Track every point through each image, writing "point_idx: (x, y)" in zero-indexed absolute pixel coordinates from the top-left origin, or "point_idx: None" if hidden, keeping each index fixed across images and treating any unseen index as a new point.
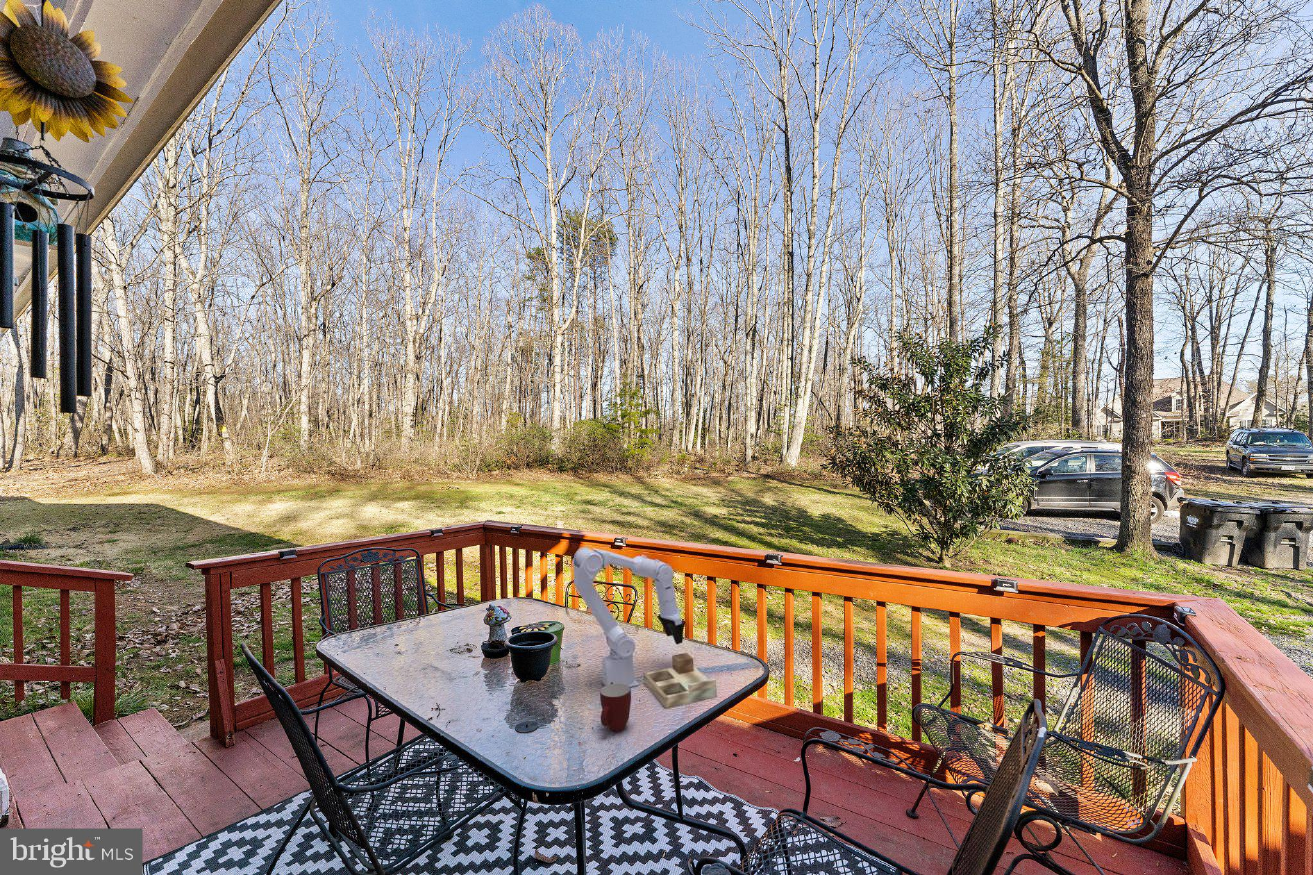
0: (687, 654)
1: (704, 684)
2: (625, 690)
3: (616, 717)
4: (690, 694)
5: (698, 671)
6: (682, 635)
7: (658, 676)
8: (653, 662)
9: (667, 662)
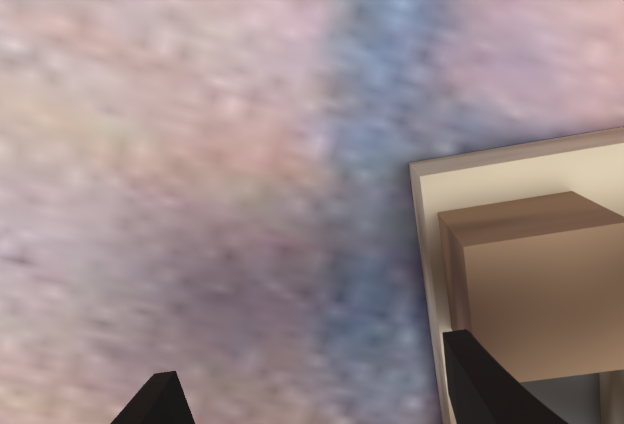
0: (511, 250)
1: None
2: None
3: None
4: None
5: (591, 155)
6: (517, 384)
7: None
8: (152, 362)
9: (173, 278)
